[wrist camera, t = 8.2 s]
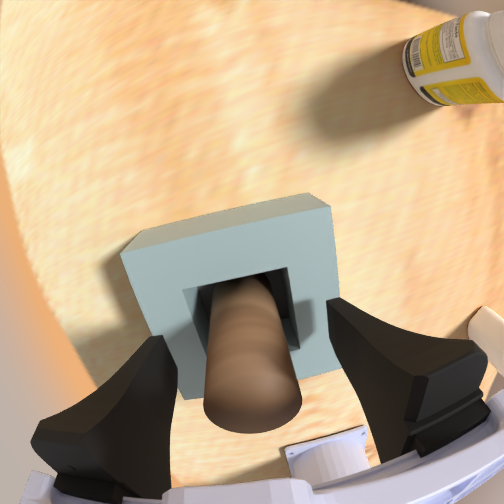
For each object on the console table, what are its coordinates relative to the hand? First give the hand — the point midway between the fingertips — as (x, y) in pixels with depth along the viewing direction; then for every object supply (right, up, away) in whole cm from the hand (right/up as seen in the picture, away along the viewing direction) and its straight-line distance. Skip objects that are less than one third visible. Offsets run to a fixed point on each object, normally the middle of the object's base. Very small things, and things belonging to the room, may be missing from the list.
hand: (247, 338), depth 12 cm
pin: (0, +1, +4) cm, 4 cm away
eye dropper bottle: (+21, -3, +8) cm, 23 cm away
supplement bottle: (+11, +15, +1) cm, 18 cm away
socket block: (0, +2, +4) cm, 5 cm away
